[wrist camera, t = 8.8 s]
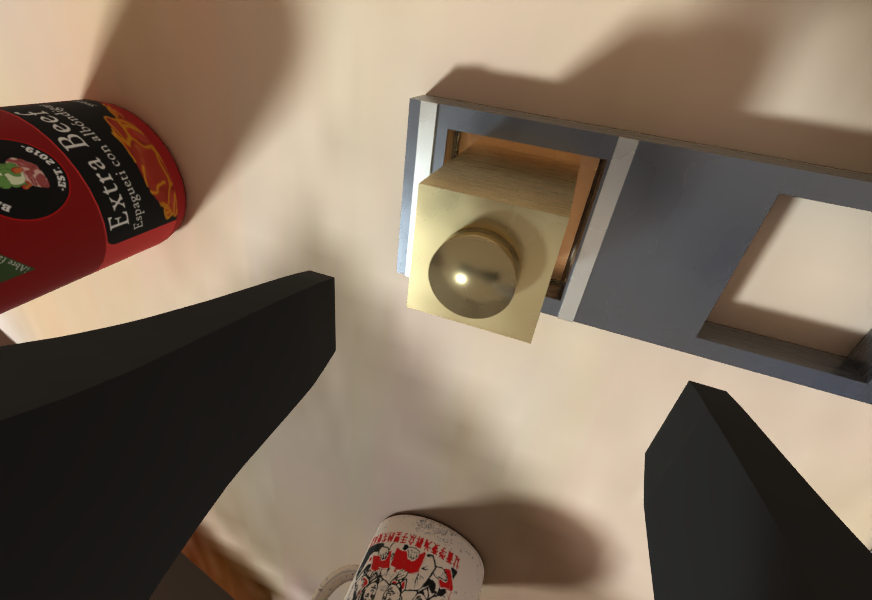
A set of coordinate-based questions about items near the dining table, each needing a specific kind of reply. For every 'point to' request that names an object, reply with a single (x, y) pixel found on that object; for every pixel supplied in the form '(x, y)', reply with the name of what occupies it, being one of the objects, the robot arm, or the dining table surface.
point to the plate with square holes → (650, 231)
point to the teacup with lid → (411, 565)
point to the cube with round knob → (490, 238)
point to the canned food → (79, 194)
